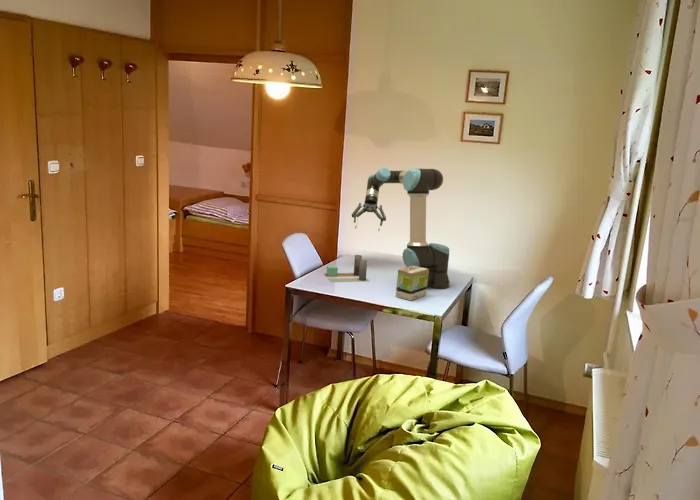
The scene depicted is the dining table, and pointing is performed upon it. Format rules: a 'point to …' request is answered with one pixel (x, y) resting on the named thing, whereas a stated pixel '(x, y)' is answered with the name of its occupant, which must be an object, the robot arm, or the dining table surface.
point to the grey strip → (361, 278)
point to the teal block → (332, 270)
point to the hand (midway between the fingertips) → (367, 228)
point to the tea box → (412, 282)
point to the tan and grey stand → (356, 269)
